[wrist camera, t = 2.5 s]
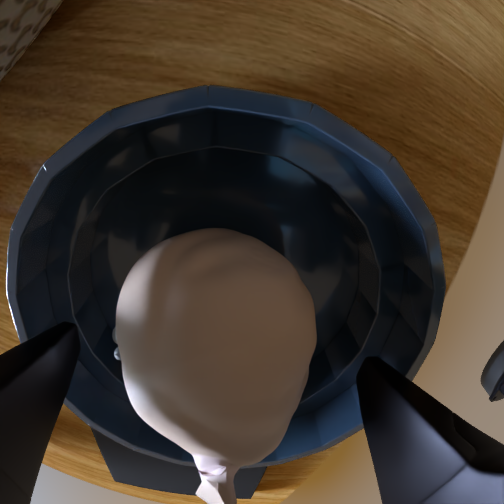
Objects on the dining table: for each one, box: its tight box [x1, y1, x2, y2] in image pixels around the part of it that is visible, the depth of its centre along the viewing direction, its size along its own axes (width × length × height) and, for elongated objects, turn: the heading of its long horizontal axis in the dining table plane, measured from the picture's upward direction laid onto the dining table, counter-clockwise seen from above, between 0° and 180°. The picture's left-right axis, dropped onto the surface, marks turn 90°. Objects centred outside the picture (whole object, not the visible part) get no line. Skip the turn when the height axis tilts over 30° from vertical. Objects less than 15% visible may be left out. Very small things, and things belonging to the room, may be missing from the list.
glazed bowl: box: [6, 85, 446, 469], centre depth 10 cm, size 14×14×4 cm
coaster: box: [91, 427, 267, 499], centre depth 17 cm, size 12×12×1 cm
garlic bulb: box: [112, 228, 317, 504], centre depth 8 cm, size 7×6×8 cm
